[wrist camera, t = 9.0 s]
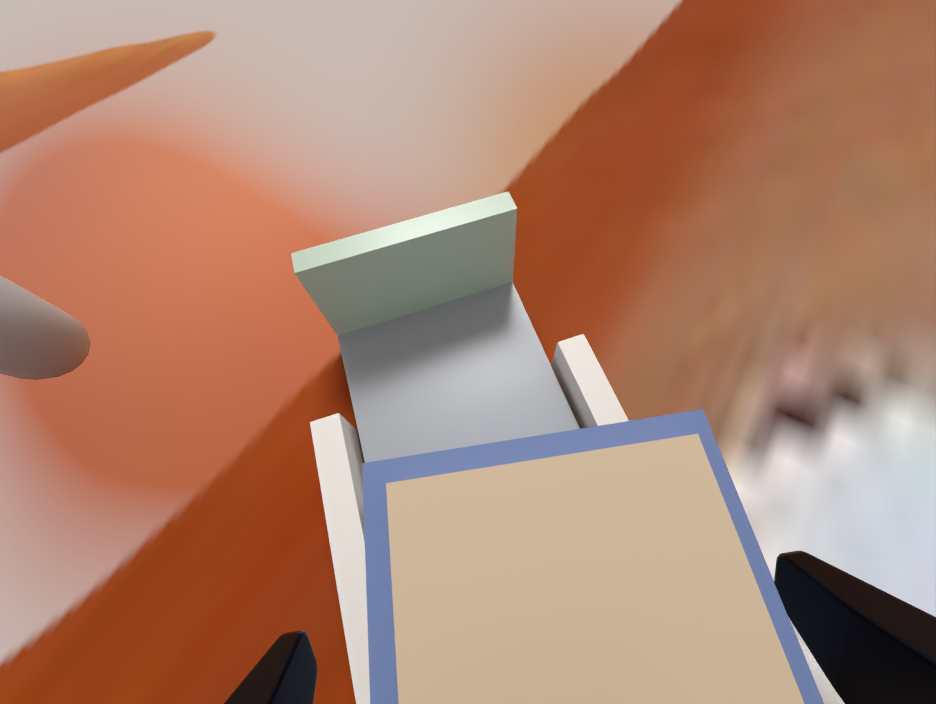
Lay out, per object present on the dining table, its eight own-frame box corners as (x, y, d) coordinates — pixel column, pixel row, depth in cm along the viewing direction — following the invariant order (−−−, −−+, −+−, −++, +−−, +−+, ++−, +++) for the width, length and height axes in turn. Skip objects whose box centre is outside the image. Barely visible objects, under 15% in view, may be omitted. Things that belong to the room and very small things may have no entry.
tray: (683, 674, 15) (788, 734, 10) (439, 774, 14) (405, 901, 9) (505, 278, 23) (508, 191, 18) (340, 329, 22) (291, 253, 17)
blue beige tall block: (604, 657, 15) (952, 948, 4) (464, 680, 15) (367, 1050, 3) (569, 509, 17) (716, 399, 6) (447, 528, 17) (353, 456, 6)
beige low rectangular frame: (848, 917, 12) (926, 993, 10) (454, 1108, 11) (444, 1240, 9) (574, 358, 21) (583, 334, 19) (330, 438, 20) (309, 422, 17)
